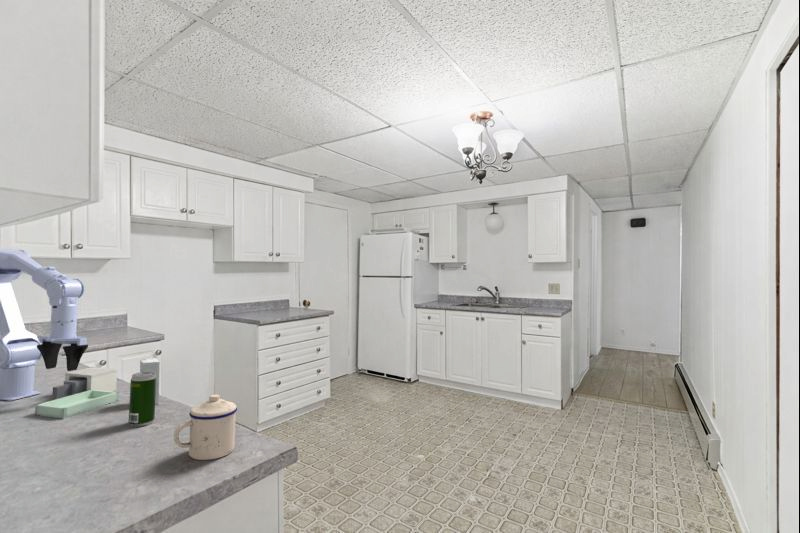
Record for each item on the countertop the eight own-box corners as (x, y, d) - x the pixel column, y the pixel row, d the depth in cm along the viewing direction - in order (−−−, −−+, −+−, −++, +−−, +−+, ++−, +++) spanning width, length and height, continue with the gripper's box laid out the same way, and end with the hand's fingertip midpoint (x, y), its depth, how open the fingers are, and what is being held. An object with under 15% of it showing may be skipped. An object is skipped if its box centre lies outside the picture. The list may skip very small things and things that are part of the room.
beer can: (146, 427, 94) (148, 377, 95) (123, 427, 94) (125, 376, 94) (158, 419, 100) (161, 371, 100) (137, 419, 99) (139, 371, 100)
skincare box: (159, 404, 111) (161, 361, 111) (140, 407, 108) (142, 363, 109) (156, 399, 116) (158, 357, 116) (137, 401, 113) (140, 359, 113)
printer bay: (64, 394, 117) (65, 372, 117) (91, 387, 125) (92, 367, 125) (90, 397, 115) (91, 375, 115) (116, 390, 123) (117, 369, 123)
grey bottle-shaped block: (47, 402, 110) (48, 384, 110) (86, 391, 121) (87, 375, 121) (60, 404, 109) (61, 386, 110) (98, 393, 120) (99, 376, 120)
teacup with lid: (224, 439, 89) (226, 387, 89) (242, 452, 83) (245, 396, 83) (165, 455, 80) (168, 397, 81) (180, 471, 74) (183, 408, 74)
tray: (34, 415, 100) (35, 405, 100) (92, 398, 115) (92, 389, 115) (63, 418, 98) (63, 408, 98) (118, 400, 113) (118, 392, 113)
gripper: (28, 321, 110) (25, 370, 109) (69, 324, 106) (67, 374, 106) (55, 319, 116) (52, 365, 116) (95, 321, 113) (92, 368, 113)
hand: (61, 369), depth 112 cm, fingers open, 7 cm apart
